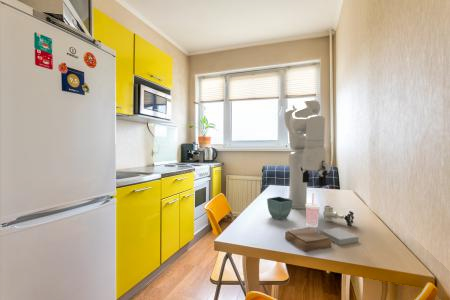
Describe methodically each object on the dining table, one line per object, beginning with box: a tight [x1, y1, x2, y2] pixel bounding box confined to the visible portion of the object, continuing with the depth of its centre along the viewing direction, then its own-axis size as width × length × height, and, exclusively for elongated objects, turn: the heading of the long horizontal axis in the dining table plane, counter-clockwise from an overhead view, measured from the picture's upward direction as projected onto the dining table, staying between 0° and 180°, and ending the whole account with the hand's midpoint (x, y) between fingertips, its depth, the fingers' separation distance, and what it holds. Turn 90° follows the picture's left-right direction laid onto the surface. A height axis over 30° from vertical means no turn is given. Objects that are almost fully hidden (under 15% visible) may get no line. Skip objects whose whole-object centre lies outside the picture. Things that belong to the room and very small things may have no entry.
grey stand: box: [320, 227, 360, 246], centre depth 83 cm, size 9×9×2 cm
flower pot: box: [266, 196, 293, 221], centre depth 105 cm, size 9×9×9 cm
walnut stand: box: [284, 227, 332, 253], centre depth 79 cm, size 11×11×3 cm
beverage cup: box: [305, 193, 321, 228], centre depth 96 cm, size 6×6×14 cm
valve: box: [323, 205, 355, 227], centre depth 101 cm, size 7×7×12 cm
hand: (313, 184), depth 95 cm, fingers open, 9 cm apart
